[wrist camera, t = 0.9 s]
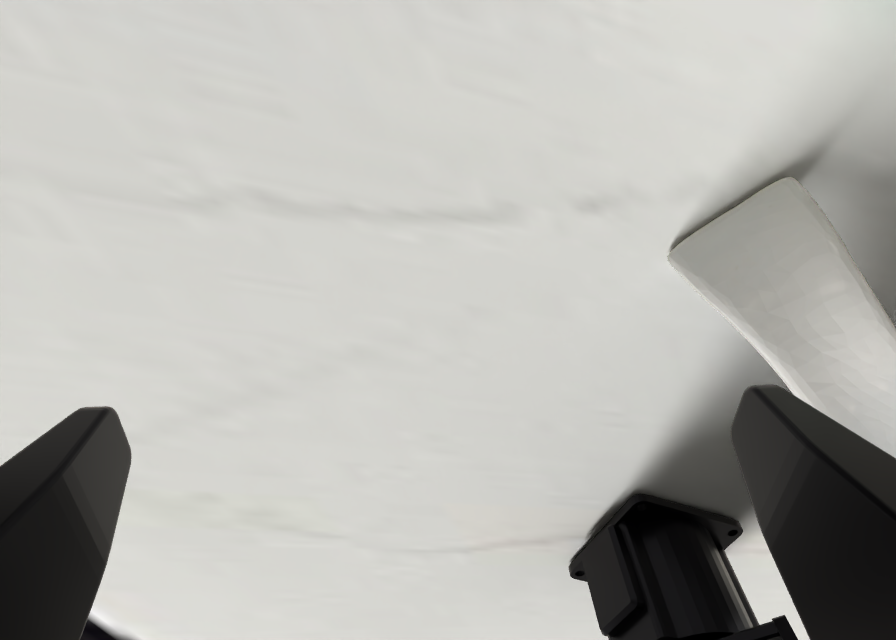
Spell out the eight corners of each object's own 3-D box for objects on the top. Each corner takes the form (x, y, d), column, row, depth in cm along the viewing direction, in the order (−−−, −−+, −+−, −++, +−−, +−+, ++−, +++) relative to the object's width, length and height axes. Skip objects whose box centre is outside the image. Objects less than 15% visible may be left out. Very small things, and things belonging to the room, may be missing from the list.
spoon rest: (1031, 468, 32) (1173, 604, 26) (804, 569, 36) (883, 707, 30) (876, 99, 21) (1065, 193, 15) (569, 305, 24) (622, 445, 19)
